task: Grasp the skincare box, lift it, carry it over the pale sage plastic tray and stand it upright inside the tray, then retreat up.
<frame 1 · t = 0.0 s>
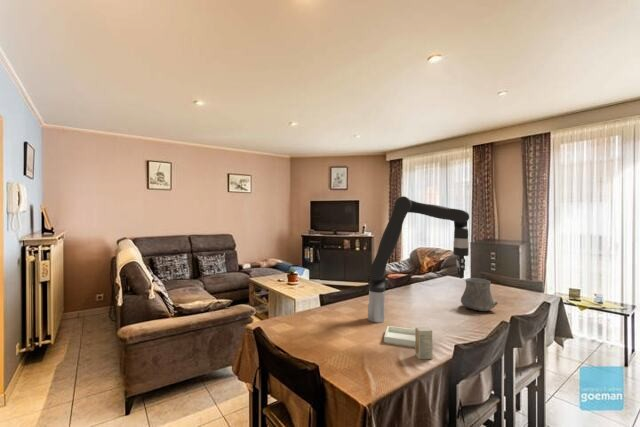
hand: (460, 276, 166), 29 cm above the table, fingers open, 8 cm apart
tray: (408, 340, 151), on the table
vessel: (478, 309, 205), on the table
skincare box: (423, 357, 132), on the table
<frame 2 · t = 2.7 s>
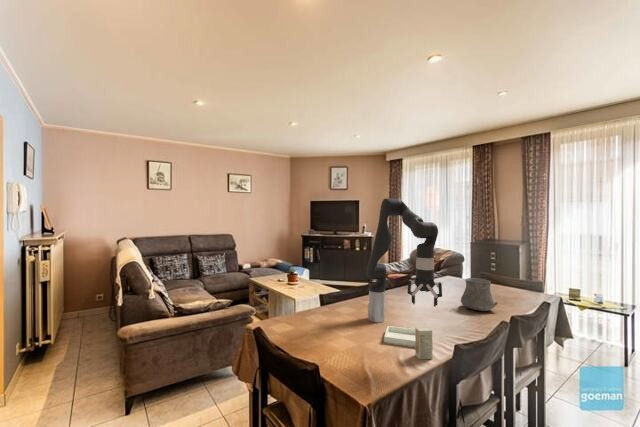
hand: (424, 305, 133), 22 cm above the table, fingers open, 8 cm apart
nothing on the table moved.
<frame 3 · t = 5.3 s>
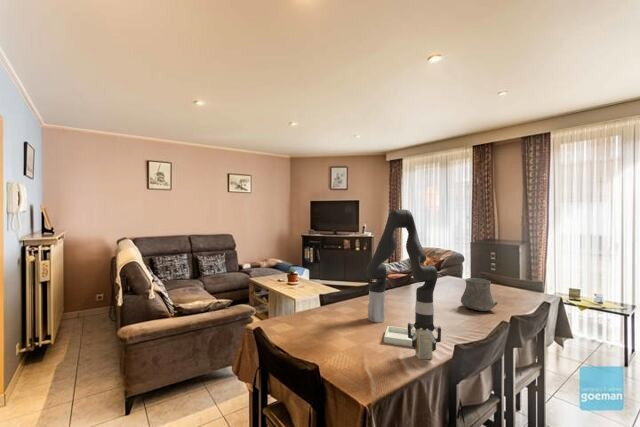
hand: (423, 349, 132), 3 cm above the table, fingers closed on skincare box, 7 cm apart
skincare box: (423, 357, 132), on the table, touching gripper
everything else where it was.
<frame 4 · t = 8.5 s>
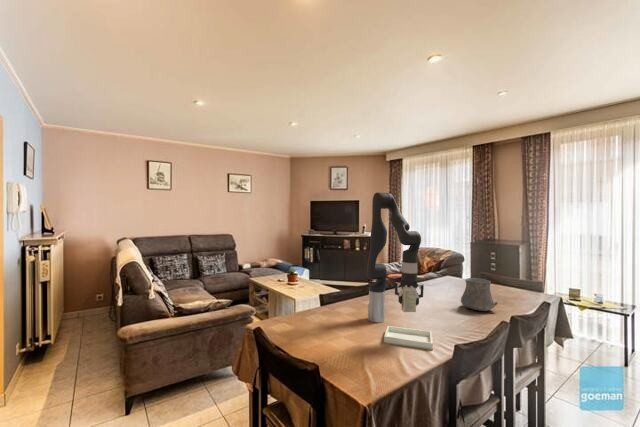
hand: (408, 304, 151), 18 cm above the table, fingers closed on skincare box, 7 cm apart
skincare box: (408, 311, 151), point 14 cm above the table, touching gripper
everything else where it was.
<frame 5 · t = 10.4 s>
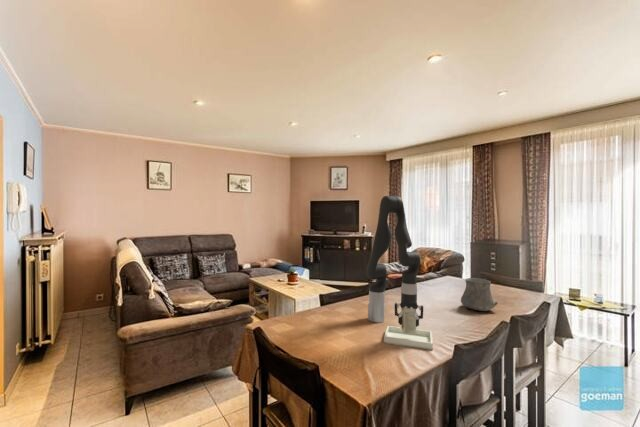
hand: (408, 325, 151), 7 cm above the table, fingers closed on skincare box, 7 cm apart
skincare box: (408, 332, 151), point 4 cm above the table, touching gripper
everything else where it was.
when the fingers open (5 cm above the table, at t = 11.9 s): skincare box drops 1 cm, resting on tray.
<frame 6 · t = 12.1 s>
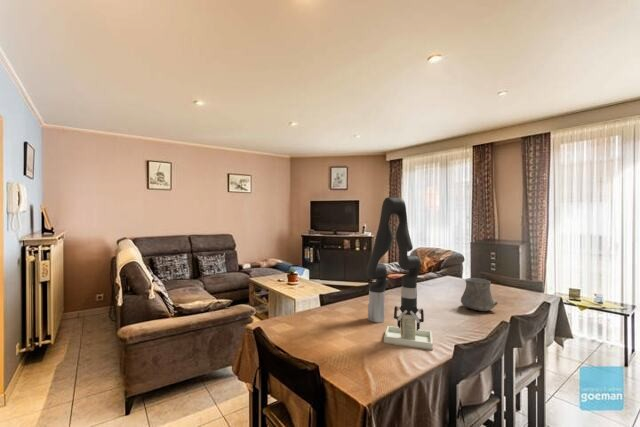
hand: (408, 328, 151), 6 cm above the table, fingers open, 8 cm apart
skincare box: (407, 339, 151), resting on tray
everything else where it was.
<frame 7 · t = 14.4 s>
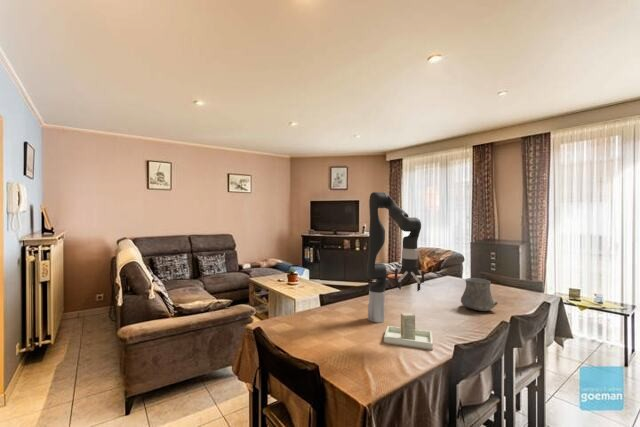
hand: (409, 290, 151), 25 cm above the table, fingers open, 8 cm apart
nothing on the table moved.
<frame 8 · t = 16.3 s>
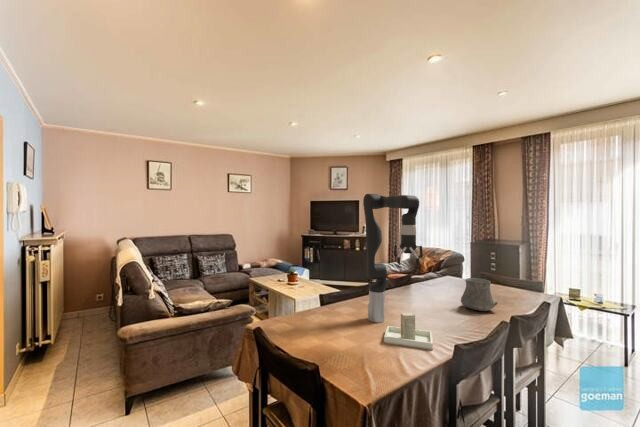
hand: (407, 265, 157), 36 cm above the table, fingers open, 8 cm apart
nothing on the table moved.
at the end: skincare box inside the target area on the tray (0.3 cm from its centre), point 0.4 cm above the tray's base; skincare box tilted 0°; the gripper is holding nothing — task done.
